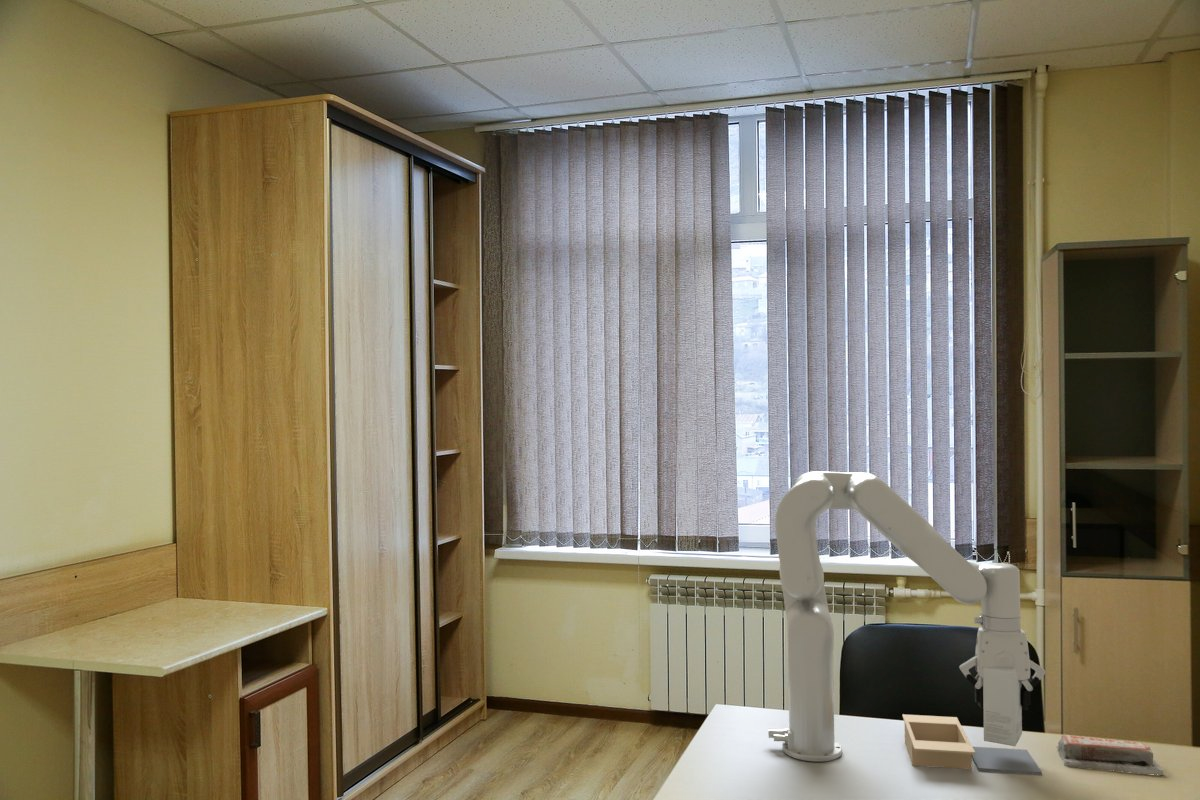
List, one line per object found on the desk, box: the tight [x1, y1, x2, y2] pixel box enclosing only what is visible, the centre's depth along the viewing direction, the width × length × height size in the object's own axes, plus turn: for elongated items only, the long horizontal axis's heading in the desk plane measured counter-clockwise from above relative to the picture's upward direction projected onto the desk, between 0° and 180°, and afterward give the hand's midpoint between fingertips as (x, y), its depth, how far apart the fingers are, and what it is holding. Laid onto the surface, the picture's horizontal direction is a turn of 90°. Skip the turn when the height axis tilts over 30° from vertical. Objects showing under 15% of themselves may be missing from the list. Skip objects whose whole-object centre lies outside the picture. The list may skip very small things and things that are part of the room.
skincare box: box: [982, 667, 1023, 747], centre depth 190 cm, size 8×7×16 cm
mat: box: [971, 746, 1043, 776], centre depth 190 cm, size 12×12×1 cm
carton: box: [902, 713, 975, 770], centre depth 194 cm, size 12×21×5 cm, turn 168°
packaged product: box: [1056, 734, 1164, 776], centre depth 189 cm, size 18×5×10 cm
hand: (1002, 706), depth 190 cm, fingers closed on skincare box, 8 cm apart
